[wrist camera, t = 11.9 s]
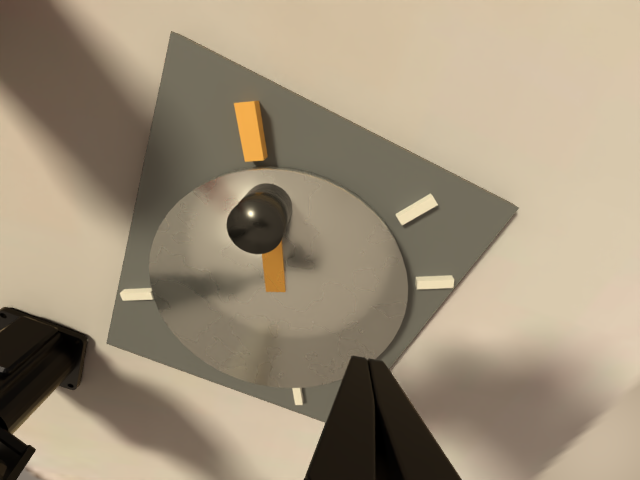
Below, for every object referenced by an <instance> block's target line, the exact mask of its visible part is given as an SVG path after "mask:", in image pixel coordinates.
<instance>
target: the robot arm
mask: <svg viewBox="0 0 640 480" xmlns="http://www.w3.org/2000/svg"><path fill="white" fill-rule="evenodd" d="M86 346H87V338H86V337H85V336H84V335H82V334H80V333H77V332H75V331H72V330H69V329H66V328H63V327H61V326H58V325H55V324H52V323H50V322H47V321H44V320H41V319H39V318H36V317H33V316H30V315H27V314H25V313H22V312H19V311H16V310H14V309H11V308H8V307H3V308H2V309H0V480H16V479H17V478H18V476H19V475H20V473H21V472H22V470H23V469H24V467H25V466H26V464H27V463H28V461H29V460H30V458H31V457H32V455H33V454H34V452H35V450H36V449H35V448H33V447H32V446H31V445H26V444H25V443H23V442H22V441H21V440H19V439H18V438H17V437H15V436H14V435H12V434H13V433H14V432H15V431H16V430H17V429H18V428H19V427H20V426H21V425H22V424H23V423H24V422H25V421H26V420H27V419H28V418H29V416H30V415H31V414H32V413H33V412H34V411H35V410H36V409H37V408H38V407H39V406H40V405H41V404H42V403H43V402H44V401H45V400H46V399H47V398H48V397H49V395H50V394H51V393H52V392H53V391H54V390H55V389H56V388H57V387H58V386H62V387H65V388H68V389H71V390H75V389H76V388H77V387H78V386H79V385H80V381H81V375H82V369H83V363H84V358H85V352H86ZM304 480H462V479H461V478H460V476H459V475H458V473H457V472H456V470H455V469H454V467H453V466H452V464H451V463H450V461H449V460H448V458H447V457H446V455H445V454H444V452H443V450H442V449H441V447H440V446H439V444H438V443H437V441H436V440H435V438H434V437H433V435H432V434H431V432H430V431H429V429H428V428H427V426H426V425H425V423H424V422H423V420H422V419H421V417H420V416H419V414H418V413H417V411H416V410H415V408H414V406H413V405H412V403H411V402H410V400H409V399H408V397H407V396H406V394H405V393H404V391H403V390H402V388H401V387H400V385H399V384H398V382H397V381H396V379H395V378H394V376H393V375H392V373H391V372H390V370H389V369H388V367H387V366H386V364H385V363H384V362H383V361H382V360H377V359H371V358H369V359H366V358H365V357H360V356H354V355H353V356H351V358H350V360H349V363H348V366H347V368H346V371H345V373H344V376H343V379H342V381H341V384H340V387H339V389H338V392H337V394H336V397H335V400H334V402H333V405H332V407H331V410H330V413H329V415H328V418H327V421H326V423H325V426H324V428H323V431H322V434H321V436H320V439H319V441H318V444H317V447H316V449H315V452H314V455H313V457H312V460H311V462H310V465H309V468H308V470H307V473H306V476H305V478H304Z"/></svg>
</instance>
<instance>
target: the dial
mask: <svg viewBox="0 0 640 480" xmlns="http://www.w3.org/2000/svg"><path fill="white" fill-rule="evenodd" d="M149 277H150V285H151V289H152V294H153V297H154V300H155V302H156V305H157V308H158V310H159V312H160V314H161V316H162V317H163V319H164V321H165V323H166V324H167V326H168V327H169V328H170V330H171V331H172V333H173V334H174V335H175V336H176V337H177V338H178V339H179V341H180V342H181V343H182V344H183V345H184V346H185V347H186V348H188V349H189V350H190V351H191V352H192V353H193V354H194V355H196V356H197V357H198V358H200V359H201V360H202V361H204V362H205V363H207V364H209V365H210V366H212V367H214V368H215V369H217V370H219V371H221V372H223V373H225V374H228V375H230V376H232V377H235V378H238V379H240V380H243V381H247V382H250V383H254V384H258V385H264V386H269V387H279V388H304V387H313V386H318V385H323V384H328V383H331V382H334V381H338V380H341V379H343V376H344V373H345V371H346V368H347V366H348V363H349V360H350V358H351V356H353V355H354V356H360V357H365V358H366V359H369V358H371V359H376V358H377V357H378V356H379V355H380V354H381V353H382V352H383V351H384V350H385V349H386V348H387V347H388V345H389V344H390V343H391V342H392V340H393V339H394V337H395V335H396V333H397V332H398V330H399V328H400V326H401V323H402V320H403V318H404V315H405V311H406V306H407V301H408V281H407V272H406V268H405V265H404V261H403V258H402V255H401V252H400V249H399V247H398V245H397V243H396V240H395V238H394V236H393V234H392V232H391V231H390V229H389V228H388V226H387V225H386V223H385V222H384V220H383V219H382V218H381V217H380V215H379V214H378V213H377V212H376V211H375V210H374V209H373V207H372V206H370V205H369V204H368V203H367V202H366V201H365V200H364V199H362V198H361V197H360V196H359V195H358V194H356V193H354V192H353V191H351V190H350V189H348V188H347V187H345V186H344V185H342V184H340V183H338V182H336V181H334V180H332V179H330V178H328V177H325V176H322V175H319V174H316V173H313V172H310V171H307V170H302V169H297V168H292V167H284V166H256V167H247V168H243V169H238V170H233V171H230V172H227V173H225V174H222V175H219V176H216V177H214V178H212V179H211V180H209V181H207V182H205V183H203V184H201V185H200V186H198V187H197V188H195V189H194V190H193V191H191V192H190V193H189V194H187V195H186V196H185V197H183V198H182V199H181V200H180V201H179V202H178V203H177V204H176V205H175V206H174V207H173V208H172V209H171V210H170V211H169V212H168V214H167V215H166V217H165V218H164V220H163V221H162V223H161V224H160V226H159V228H158V230H157V233H156V235H155V237H154V240H153V244H152V248H151V251H150V260H149Z"/></svg>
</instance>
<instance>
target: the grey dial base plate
mask: <svg viewBox="0 0 640 480" xmlns="http://www.w3.org/2000/svg"><path fill="white" fill-rule="evenodd" d="M256 166H284V167H292V168H297V169H302V170H307V171H310V172H313V173H316V174H319V175H322V176H325V177H328V178H330V179H332V180H334V181H336V182H338V183H340V184H342V185H344V186H345V187H347V188H348V189H350V190H351V191H353V192H354V193H356V194H358V195H359V196H360V197H361V198H362V199H364V200H365V201H366V202H367V203H368V204H369V205H370V206H372V207H373V209H374V210H375V211H376V212H377V213H378V214H379V215H380V217H381V218H382V219H383V220H384V222H385V223H386V225H387V226H388V228H389V229H390V231H391V232H392V234H393V236H394V238H395V240H396V243H397V245H398V247H399V249H400V252H401V255H402V258H403V261H404V265H405V268H406V272H407V281H408V301H407V306H406V311H405V315H404V318H403V320H402V323H401V326H400V328H399V330H398V332H397V333H396V335H395V337H394V339H393V340H392V342H391V343H390V344H389V345H388V347H387V348H386V349H385V350H384V351H383V352H382V353H381V354H380V355H379V356H378V357H377V358H376V359H377V360H382V361H383V362H384V363H385V364H386V366H387V367H388V369H390V368H391V366H392V365H393V364H394V363H395V361H396V360H397V359H398V358H399V356H400V355H401V354H402V353H403V352H404V350H405V349H406V348H407V347H408V345H409V344H410V343H411V342H412V340H413V339H414V338H415V337H416V335H417V334H418V333H419V332H420V330H421V329H422V328H423V327H424V325H425V324H426V323H427V322H428V320H429V319H430V318H431V317H432V316H433V314H434V313H435V312H436V311H437V309H438V308H439V307H440V306H441V304H442V303H443V302H444V301H445V299H446V298H447V297H448V296H449V294H450V293H451V292H452V291H453V289H454V288H455V287H456V286H457V284H458V283H459V282H460V281H461V280H462V278H463V277H464V276H465V275H466V273H467V272H468V271H469V270H470V268H471V267H472V266H473V265H474V263H475V262H476V261H477V260H478V258H479V257H480V256H481V255H482V253H483V252H484V251H485V250H486V249H487V247H488V246H489V245H490V244H491V242H492V241H493V240H494V239H495V237H496V236H497V235H498V234H499V232H500V231H501V230H502V229H503V227H504V226H505V225H506V224H507V222H508V221H509V220H510V219H511V217H512V216H513V215H514V214H515V213H516V211H517V210H518V209H519V208H518V207H517V206H515V205H514V204H512V203H510V202H508V201H506V200H504V199H502V198H501V197H499V196H497V195H495V194H493V193H491V192H489V191H487V190H485V189H483V188H481V187H479V186H477V185H475V184H473V183H471V182H469V181H467V180H465V179H463V178H461V177H459V176H457V175H455V174H453V173H451V172H449V171H447V170H446V169H444V168H442V167H440V166H438V165H436V164H434V163H432V162H430V161H428V160H426V159H424V158H422V157H420V156H418V155H416V154H414V153H412V152H410V151H408V150H406V149H404V148H402V147H400V146H398V145H396V144H394V143H392V142H390V141H389V140H387V139H385V138H383V137H381V136H379V135H377V134H375V133H373V132H371V131H369V130H367V129H365V128H363V127H361V126H359V125H357V124H355V123H353V122H351V121H349V120H347V119H345V118H343V117H341V116H339V115H337V114H335V113H334V112H332V111H330V110H328V109H326V108H324V107H322V106H320V105H318V104H316V103H314V102H312V101H310V100H308V99H306V98H304V97H302V96H300V95H298V94H296V93H294V92H292V91H290V90H288V89H286V88H284V87H282V86H280V85H279V84H277V83H275V82H273V81H271V80H269V79H267V78H265V77H263V76H261V75H259V74H257V73H255V72H253V71H251V70H249V69H247V68H245V67H243V66H241V65H239V64H237V63H235V62H233V61H231V60H229V59H227V58H225V57H223V56H222V55H220V54H218V53H216V52H214V51H212V50H210V49H208V48H206V47H204V46H202V45H200V44H198V43H196V42H194V41H192V40H190V39H188V38H186V37H184V36H182V35H180V34H178V33H175V32H172V31H171V34H170V39H169V44H168V49H167V54H166V58H165V63H164V68H163V73H162V78H161V83H160V87H159V92H158V97H157V102H156V107H155V112H154V116H153V121H152V126H151V131H150V136H149V141H148V145H147V150H146V155H145V160H144V165H143V170H142V174H141V179H140V184H139V189H138V194H137V199H136V203H135V208H134V213H133V218H132V223H131V228H130V232H129V237H128V242H127V247H126V252H125V257H124V261H123V266H122V271H121V276H120V281H119V286H118V290H117V295H116V300H115V305H114V310H113V315H112V319H111V324H110V329H109V334H108V339H107V344H109V345H112V346H115V347H117V348H120V349H123V350H126V351H128V352H131V353H134V354H137V355H139V356H142V357H145V358H148V359H151V360H153V361H156V362H159V363H162V364H164V365H167V366H170V367H173V368H175V369H178V370H181V371H184V372H187V373H189V374H192V375H195V376H198V377H200V378H203V379H206V380H209V381H211V382H214V383H217V384H220V385H223V386H225V387H228V388H231V389H234V390H236V391H239V392H242V393H245V394H247V395H250V396H253V397H256V398H259V399H261V400H264V401H267V402H270V403H272V404H275V405H278V406H281V407H283V408H286V409H289V410H292V411H295V412H297V413H300V414H303V415H306V416H308V417H311V418H314V419H317V420H319V421H322V422H325V423H326V421H327V418H328V415H329V413H330V410H331V407H332V405H333V402H334V400H335V397H336V394H337V392H338V389H339V387H340V384H341V381H342V379H341V380H338V381H334V382H331V383H328V384H323V385H318V386H313V387H304V388H279V387H269V386H264V385H258V384H254V383H250V382H247V381H243V380H240V379H238V378H235V377H232V376H230V375H228V374H225V373H223V372H221V371H219V370H217V369H215V368H214V367H212V366H210V365H209V364H207V363H205V362H204V361H202V360H201V359H200V358H198V357H197V356H196V355H194V354H193V353H192V352H191V351H190V350H189V349H188V348H186V347H185V346H184V345H183V344H182V343H181V342H180V341H179V339H178V338H177V337H176V336H175V335H174V334H173V333H172V331H171V330H170V328H169V327H168V326H167V324H166V323H165V321H164V319H163V317H162V316H161V314H160V312H159V310H158V308H157V305H156V302H155V300H154V297H153V294H152V289H151V285H150V277H149V260H150V251H151V248H152V244H153V240H154V237H155V235H156V233H157V230H158V228H159V226H160V224H161V223H162V221H163V220H164V218H165V217H166V215H167V214H168V212H169V211H170V210H171V209H172V208H173V207H174V206H175V205H176V204H177V203H178V202H179V201H180V200H181V199H182V198H183V197H185V196H186V195H187V194H189V193H190V192H191V191H193V190H194V189H195V188H197V187H198V186H200V185H201V184H203V183H205V182H207V181H209V180H211V179H212V178H214V177H216V176H219V175H222V174H225V173H227V172H230V171H233V170H238V169H243V168H247V167H256Z"/></svg>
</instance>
